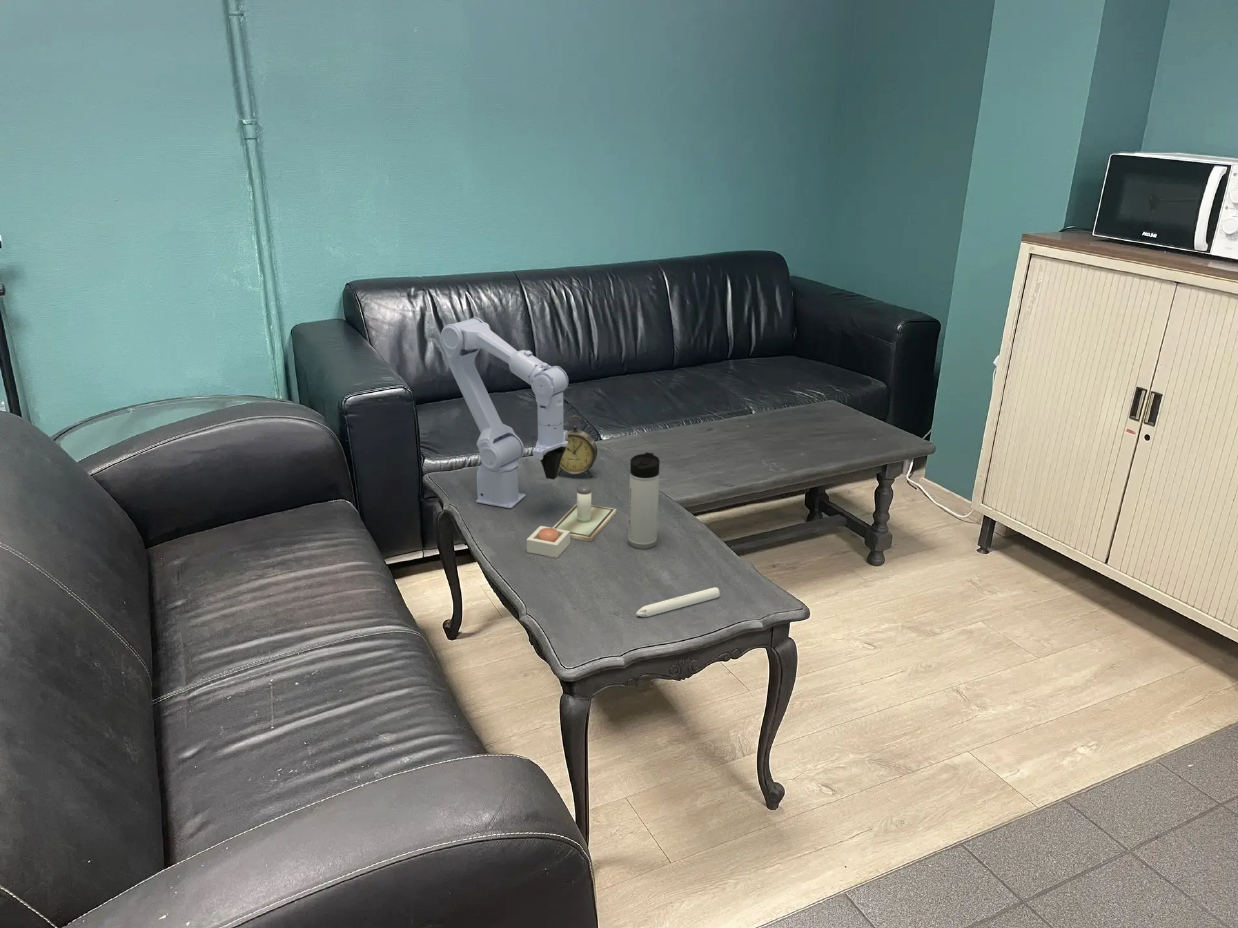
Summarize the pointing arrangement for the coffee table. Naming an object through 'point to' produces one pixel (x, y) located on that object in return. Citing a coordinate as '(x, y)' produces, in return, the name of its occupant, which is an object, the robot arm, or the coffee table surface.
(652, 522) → the travel mug
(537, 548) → the button housing
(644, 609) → the marker
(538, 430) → the robot arm
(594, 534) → the picture frame
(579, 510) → the cylinder
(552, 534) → the button
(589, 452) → the alarm clock
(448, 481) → the coffee table surface
